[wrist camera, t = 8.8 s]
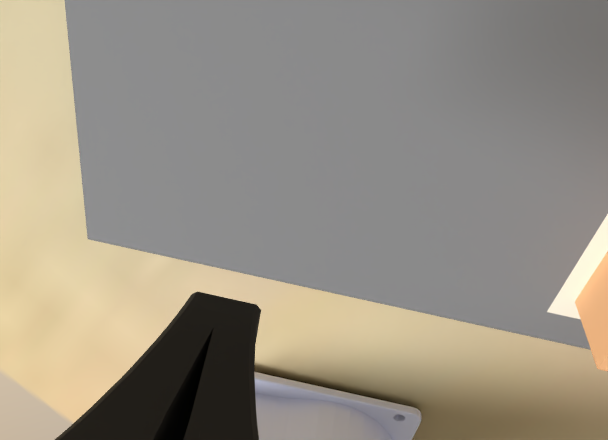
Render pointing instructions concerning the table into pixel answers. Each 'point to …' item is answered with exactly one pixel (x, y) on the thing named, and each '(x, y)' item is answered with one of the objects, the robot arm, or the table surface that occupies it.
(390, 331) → the table surface
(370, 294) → the mat
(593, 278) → the t block
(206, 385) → the robot arm
